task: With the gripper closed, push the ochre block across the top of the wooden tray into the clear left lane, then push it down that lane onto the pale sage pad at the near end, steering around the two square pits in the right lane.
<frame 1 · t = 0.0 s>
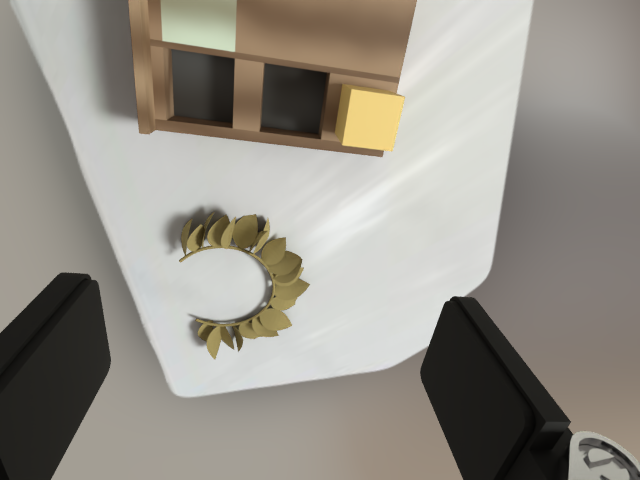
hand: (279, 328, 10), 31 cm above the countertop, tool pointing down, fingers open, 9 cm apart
block: (361, 112, 35), point 3 cm above the countertop, touching wooden tray
wooden tray: (281, 58, 35), on the countertop
headpiece: (250, 279, 47), on the countertop
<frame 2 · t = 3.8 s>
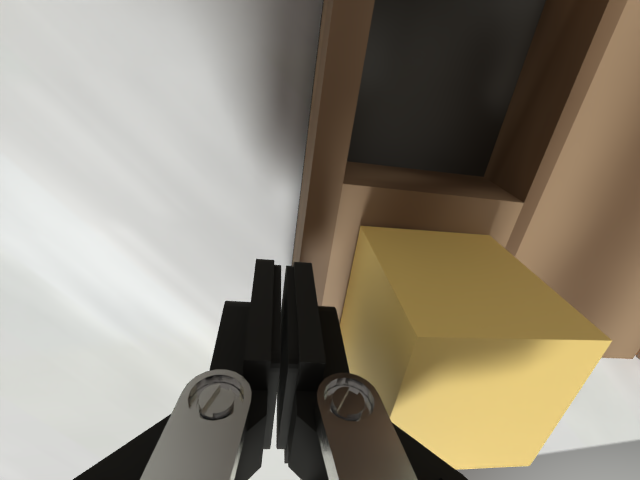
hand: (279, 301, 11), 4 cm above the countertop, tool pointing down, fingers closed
block: (409, 287, 13), point 3 cm above the countertop, touching wooden tray, gripper
wooden tray: (537, 49, 12), on the countertop
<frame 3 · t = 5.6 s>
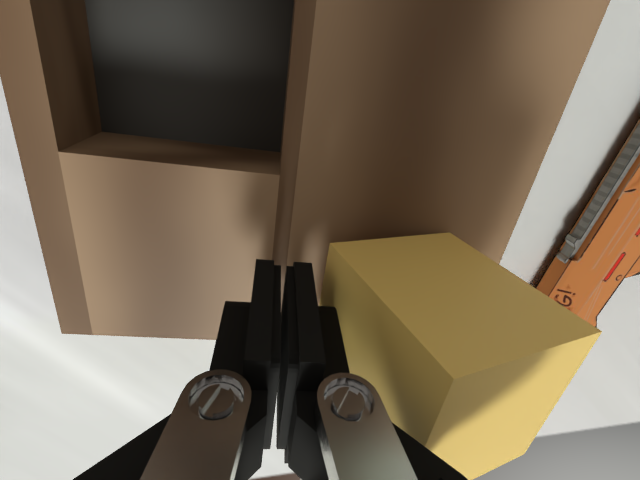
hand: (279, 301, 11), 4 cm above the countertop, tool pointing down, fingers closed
block: (379, 296, 12), point 4 cm above the countertop, tilted 19°, touching wooden tray, gripper
wooden tray: (309, 9, 11), on the countertop
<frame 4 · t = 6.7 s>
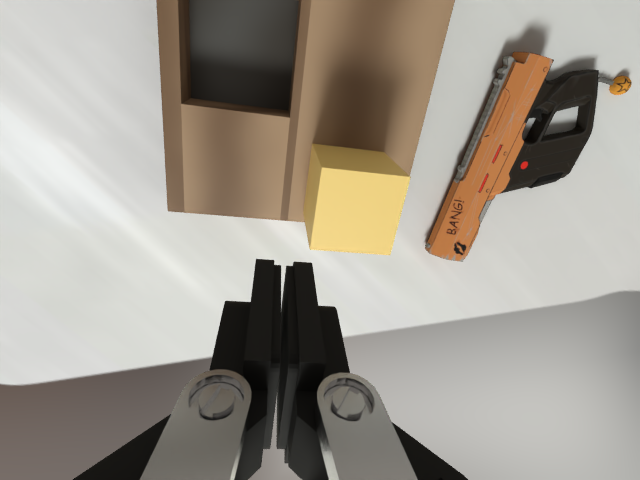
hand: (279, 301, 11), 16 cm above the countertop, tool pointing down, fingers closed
block: (342, 183, 23), point 3 cm above the countertop, touching wooden tray
toy gun: (511, 165, 28), on the countertop
wooden tray: (304, 32, 22), on the countertop
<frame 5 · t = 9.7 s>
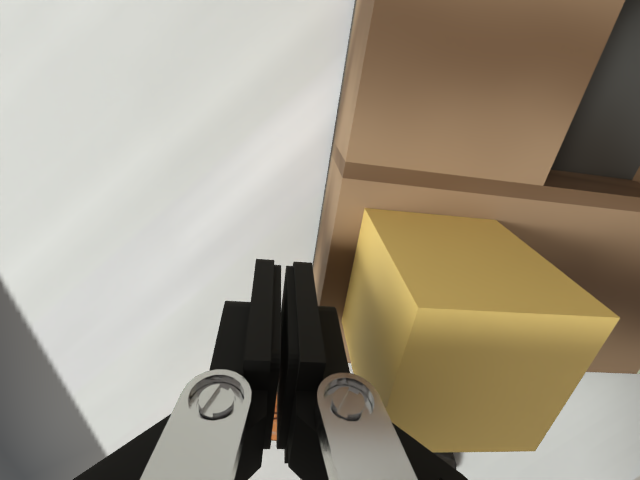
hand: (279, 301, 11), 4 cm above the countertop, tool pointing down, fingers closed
block: (414, 272, 13), point 3 cm above the countertop, touching gripper
toy gun: (349, 429, 22), on the countertop
wooden tray: (588, 185, 15), on the countertop
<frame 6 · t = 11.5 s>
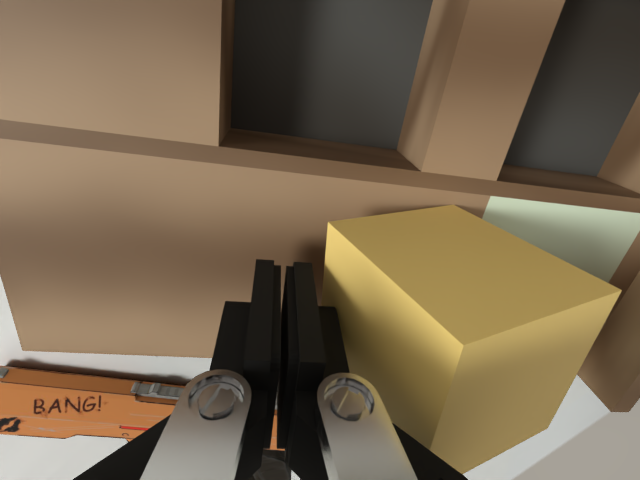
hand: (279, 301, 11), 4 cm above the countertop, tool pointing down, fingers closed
block: (384, 276, 12), point 4 cm above the countertop, tilted 20°, touching wooden tray
toy gun: (171, 427, 21), on the countertop
wooden tray: (353, 156, 14), on the countertop
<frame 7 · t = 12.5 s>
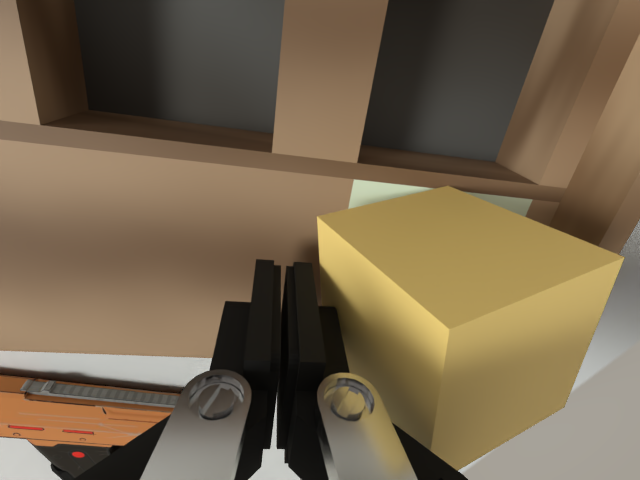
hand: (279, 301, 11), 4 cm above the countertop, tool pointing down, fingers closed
block: (384, 265, 12), point 4 cm above the countertop, tilted 20°, touching gripper
toy gun: (84, 426, 20), on the countertop
wooden tray: (230, 140, 13), on the countertop
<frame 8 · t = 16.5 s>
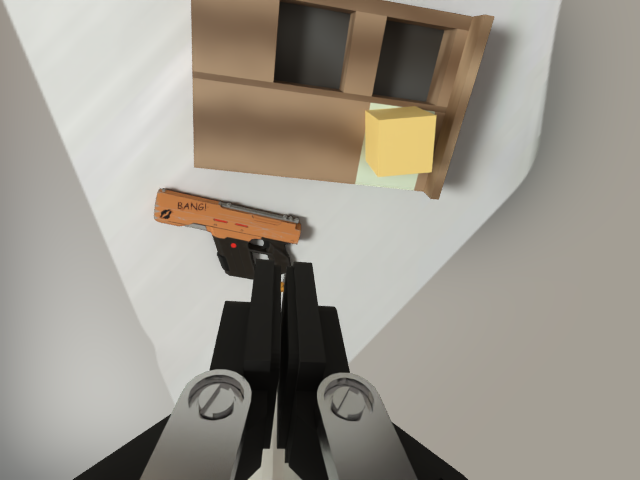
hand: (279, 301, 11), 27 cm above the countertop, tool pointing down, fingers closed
block: (389, 134, 33), point 3 cm above the countertop, touching wooden tray
toy gun: (230, 239, 41), on the countertop
wooden tray: (322, 92, 34), on the countertop
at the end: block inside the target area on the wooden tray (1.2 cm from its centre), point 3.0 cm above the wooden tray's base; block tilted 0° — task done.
